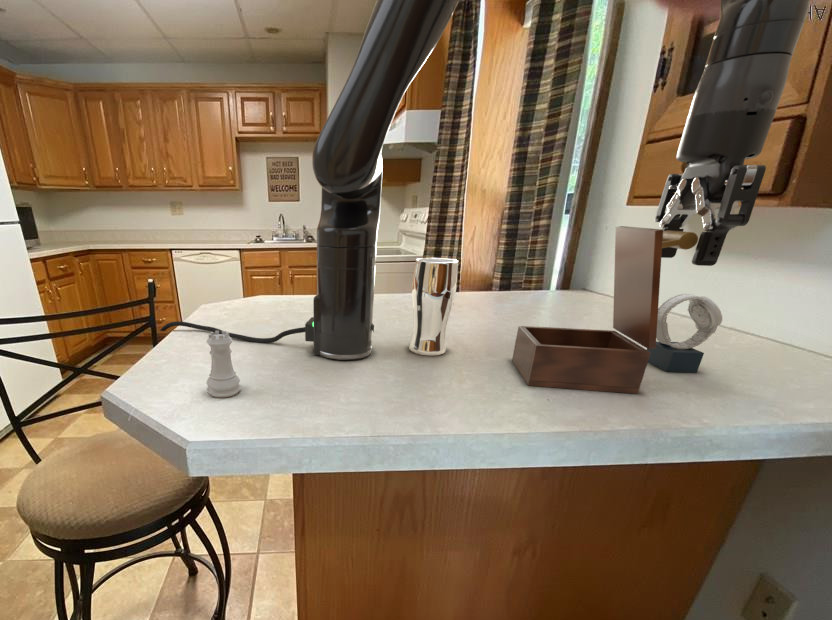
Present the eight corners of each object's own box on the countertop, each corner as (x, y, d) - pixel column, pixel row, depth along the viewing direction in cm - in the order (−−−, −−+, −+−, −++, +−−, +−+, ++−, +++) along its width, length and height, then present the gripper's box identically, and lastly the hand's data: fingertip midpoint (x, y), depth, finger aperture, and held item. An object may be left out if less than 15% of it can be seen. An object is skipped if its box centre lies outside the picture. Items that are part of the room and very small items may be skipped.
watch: (710, 373, 63) (739, 299, 59) (654, 371, 64) (678, 298, 60) (683, 360, 68) (708, 292, 64) (631, 359, 69) (652, 291, 65)
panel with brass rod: (655, 230, 49) (715, 219, 47) (615, 227, 58) (664, 217, 57) (648, 349, 54) (703, 342, 52) (612, 328, 63) (657, 321, 62)
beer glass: (403, 353, 71) (410, 261, 65) (410, 342, 77) (418, 257, 71) (445, 358, 69) (457, 263, 63) (450, 346, 75) (461, 259, 69)
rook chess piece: (224, 401, 53) (219, 340, 50) (199, 393, 55) (192, 334, 52) (248, 389, 57) (244, 331, 54) (223, 382, 59) (218, 326, 56)
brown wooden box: (528, 385, 58) (536, 345, 56) (511, 360, 68) (518, 325, 66) (637, 394, 56) (651, 352, 54) (604, 366, 66) (615, 330, 63)
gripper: (659, 124, 55) (624, 254, 61) (735, 98, 42) (680, 267, 48) (726, 122, 53) (683, 256, 60) (826, 95, 40) (757, 269, 47)
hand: (682, 261), depth 54 cm, fingers open, 8 cm apart
